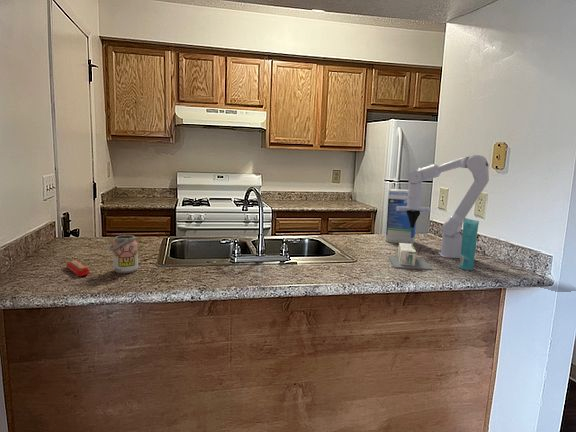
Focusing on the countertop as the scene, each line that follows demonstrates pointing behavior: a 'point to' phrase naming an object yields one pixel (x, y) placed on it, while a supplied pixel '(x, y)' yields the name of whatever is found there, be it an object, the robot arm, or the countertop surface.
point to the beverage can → (125, 254)
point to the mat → (419, 264)
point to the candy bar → (78, 268)
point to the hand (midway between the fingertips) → (412, 227)
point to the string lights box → (398, 219)
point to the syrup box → (406, 254)
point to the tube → (468, 244)
